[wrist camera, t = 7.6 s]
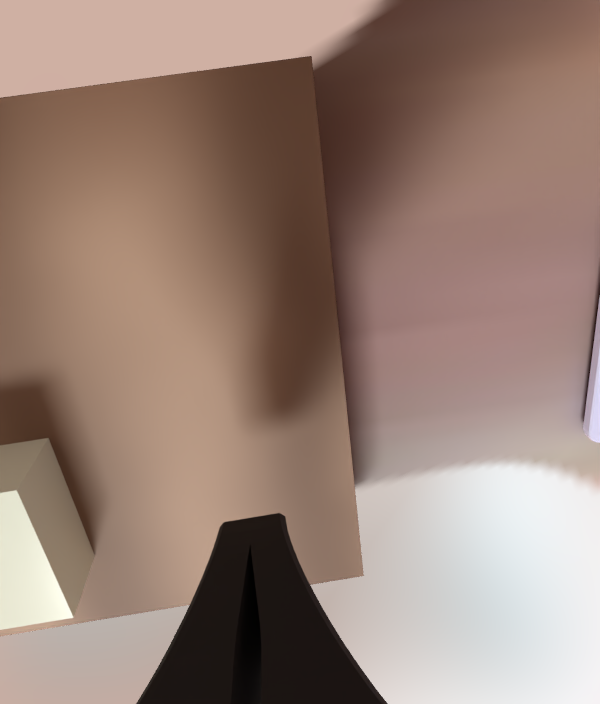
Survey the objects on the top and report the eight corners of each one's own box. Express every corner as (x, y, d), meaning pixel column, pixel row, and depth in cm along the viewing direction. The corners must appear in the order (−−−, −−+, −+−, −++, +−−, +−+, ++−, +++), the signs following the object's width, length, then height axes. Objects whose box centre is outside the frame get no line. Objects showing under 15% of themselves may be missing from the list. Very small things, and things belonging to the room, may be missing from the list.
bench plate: (299, 66, 12) (311, 56, 10) (348, 518, 18) (363, 575, 16) (-307, 148, 12) (-437, 156, 10) (-56, 584, 18) (-100, 653, 16)
